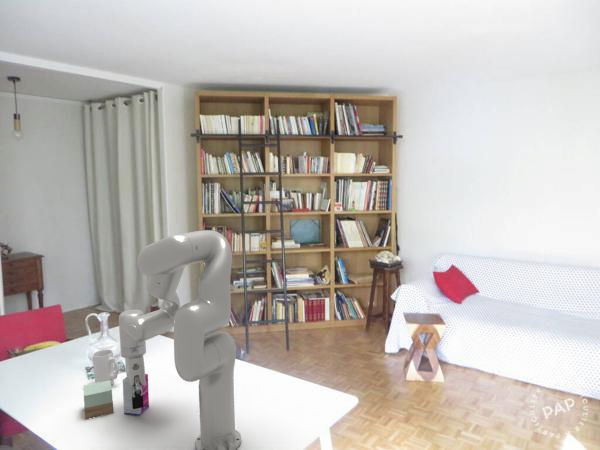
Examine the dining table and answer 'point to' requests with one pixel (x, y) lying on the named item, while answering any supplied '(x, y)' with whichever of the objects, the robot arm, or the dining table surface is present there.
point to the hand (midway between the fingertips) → (136, 401)
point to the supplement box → (128, 396)
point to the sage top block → (97, 394)
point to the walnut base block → (99, 410)
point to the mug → (104, 366)
